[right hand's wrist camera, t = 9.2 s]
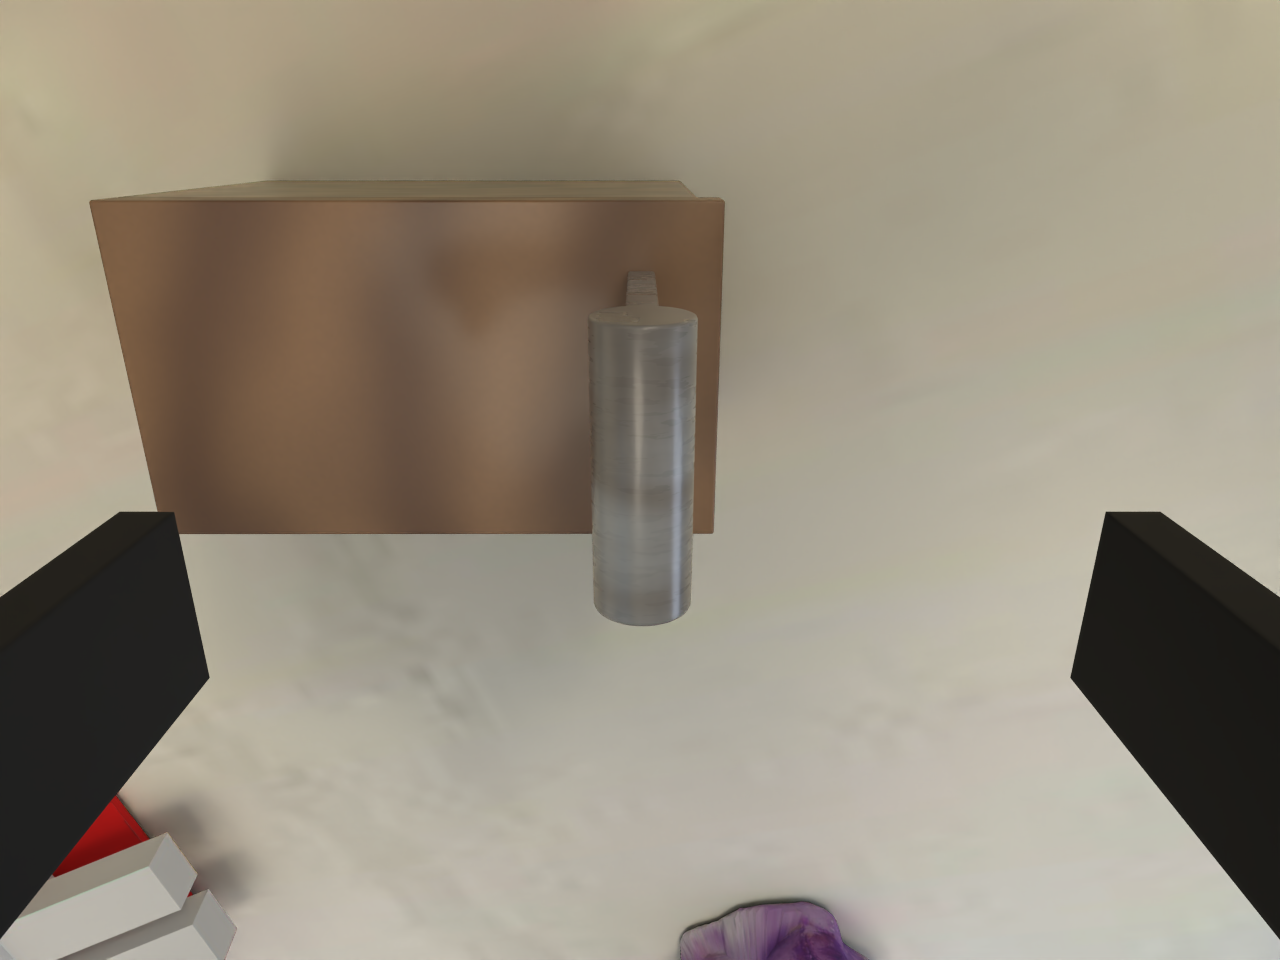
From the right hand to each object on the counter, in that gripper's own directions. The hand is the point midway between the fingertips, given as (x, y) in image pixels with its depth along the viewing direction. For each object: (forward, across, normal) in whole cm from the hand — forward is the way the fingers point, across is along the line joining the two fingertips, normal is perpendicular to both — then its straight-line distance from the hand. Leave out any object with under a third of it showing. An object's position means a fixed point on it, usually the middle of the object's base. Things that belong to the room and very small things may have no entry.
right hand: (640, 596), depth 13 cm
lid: (+13, -6, 0) cm, 14 cm away
